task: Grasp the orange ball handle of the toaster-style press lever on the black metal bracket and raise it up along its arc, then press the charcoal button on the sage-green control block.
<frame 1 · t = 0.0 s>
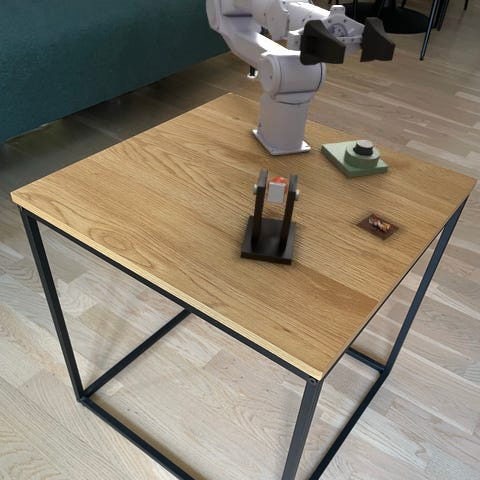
hand: (367, 53, 65), 22 cm above the table, tool horizontal, fingers open, 7 cm apart
lever: (277, 189, 69), point 6 cm above the table, hinge at -25.0°
control block: (353, 161, 90), on the table
diorama: (377, 227, 76), on the table
bracket: (268, 241, 71), on the table
button: (363, 148, 86), point 3 cm above the table, slide at 0.1 cm
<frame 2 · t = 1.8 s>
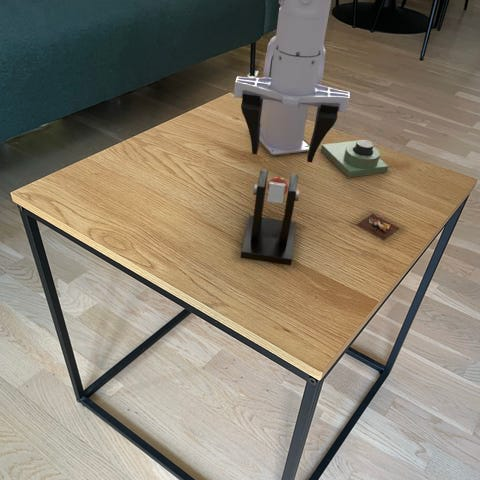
hand: (282, 155, 69), 10 cm above the table, tool pointing down, fingers open, 7 cm apart
nothing on the table moved.
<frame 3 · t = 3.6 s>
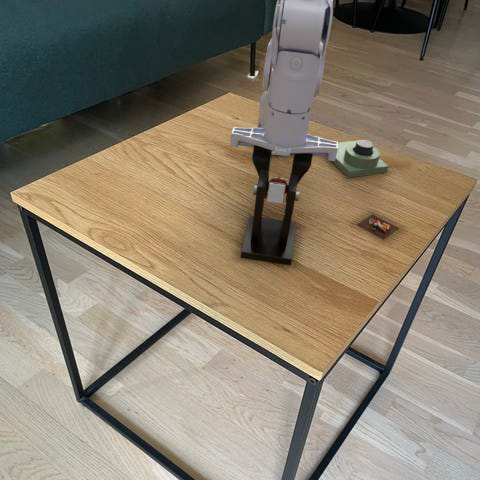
hand: (276, 196, 74), 3 cm above the table, tool pointing down, fingers closed on lever, 3 cm apart
lever: (277, 189, 69), point 6 cm above the table, hinge at -25.0°, touching gripper
everything else where it was.
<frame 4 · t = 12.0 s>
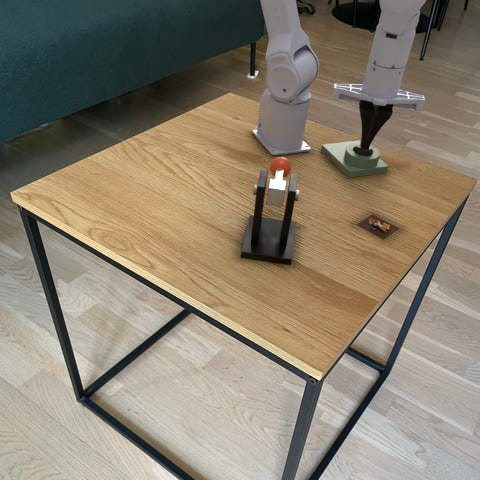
hand: (364, 145, 86), 4 cm above the table, tool pointing down, fingers closed, pressing on button
lever: (278, 179, 68), point 8 cm above the table, hinge at -4.7°
button: (363, 150, 87), point 3 cm above the table, slide at -0.3 cm, touching gripper
everything else where it was.
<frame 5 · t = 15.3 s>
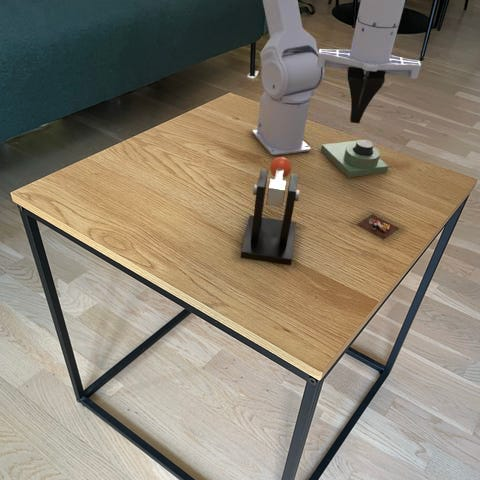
hand: (354, 120, 77), 10 cm above the table, tool pointing down, fingers closed
button: (363, 148, 86), point 4 cm above the table, slide at 0.1 cm
everything else where it was.
at the end: lever reached +21° during the clip, -5° at the end; button pushed in 1.2 cm at the most during the clip, back to where it started at the end; button slide at 0.1 cm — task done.
